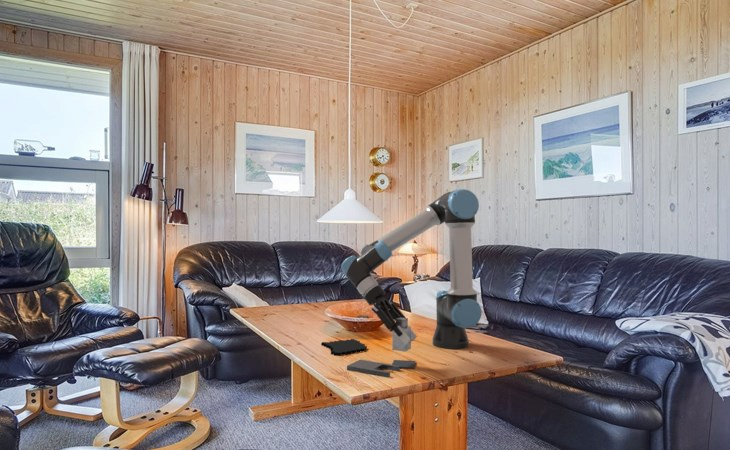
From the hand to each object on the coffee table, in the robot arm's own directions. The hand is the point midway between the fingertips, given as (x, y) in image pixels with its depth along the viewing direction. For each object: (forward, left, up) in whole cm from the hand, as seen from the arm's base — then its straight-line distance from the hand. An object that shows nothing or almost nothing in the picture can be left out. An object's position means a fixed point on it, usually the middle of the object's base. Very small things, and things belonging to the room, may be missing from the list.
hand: (411, 340), depth 161 cm
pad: (+3, -1, -9) cm, 10 cm away
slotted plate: (+13, +6, -9) cm, 17 cm away
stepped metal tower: (+4, -1, -3) cm, 5 cm away
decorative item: (+30, -21, -10) cm, 38 cm away
